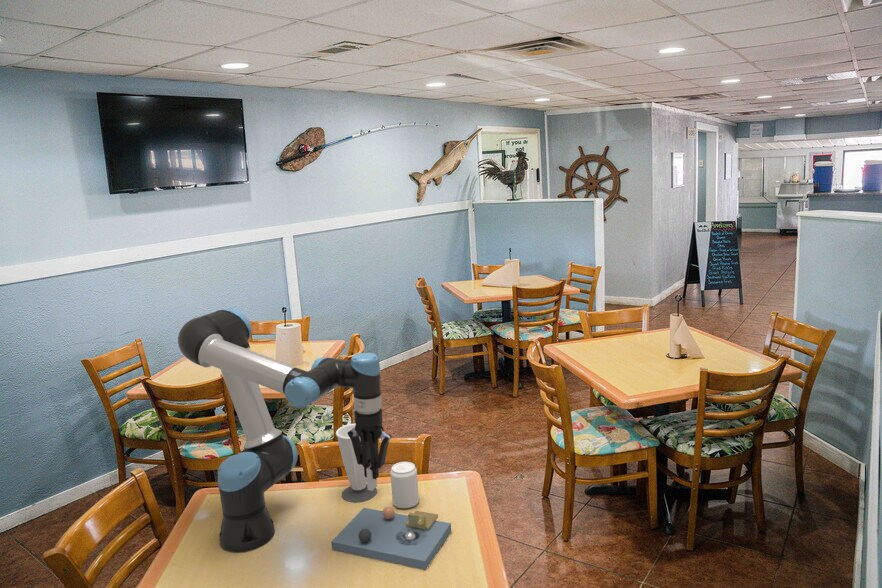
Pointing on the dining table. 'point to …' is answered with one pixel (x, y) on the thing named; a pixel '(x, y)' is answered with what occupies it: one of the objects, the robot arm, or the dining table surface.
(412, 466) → the beverage can
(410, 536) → the steel ball
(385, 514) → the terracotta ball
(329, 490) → the dining table surface
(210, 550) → the dining table surface
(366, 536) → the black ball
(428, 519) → the brass cover
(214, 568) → the dining table surface
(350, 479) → the cup
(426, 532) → the grey flat board
